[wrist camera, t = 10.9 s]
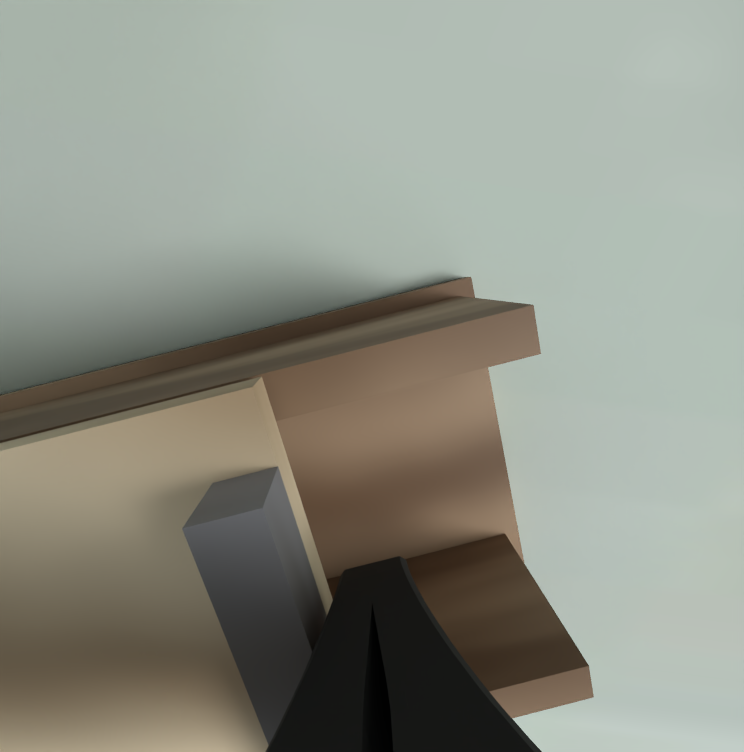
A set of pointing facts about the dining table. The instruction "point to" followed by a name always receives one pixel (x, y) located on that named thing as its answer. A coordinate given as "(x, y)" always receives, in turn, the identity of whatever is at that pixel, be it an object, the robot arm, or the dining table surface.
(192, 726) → the lid
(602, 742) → the dining table surface
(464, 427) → the brown wooden box
